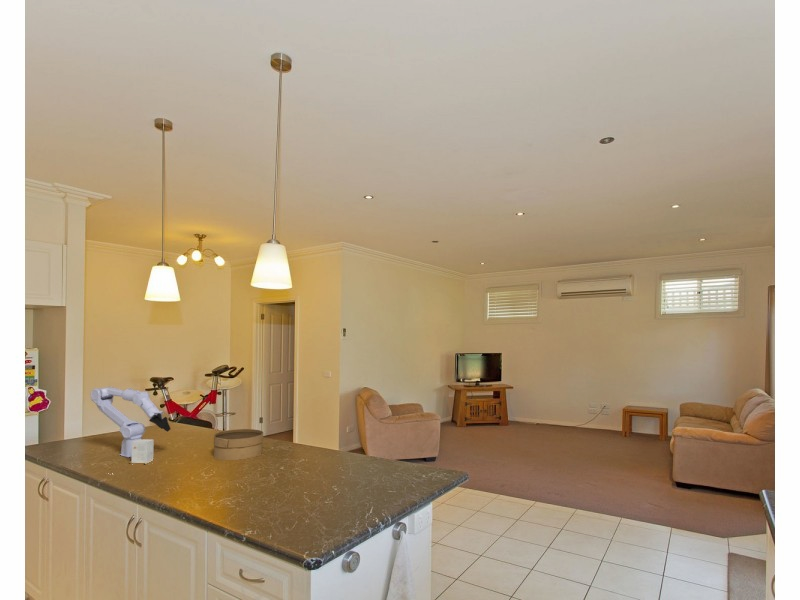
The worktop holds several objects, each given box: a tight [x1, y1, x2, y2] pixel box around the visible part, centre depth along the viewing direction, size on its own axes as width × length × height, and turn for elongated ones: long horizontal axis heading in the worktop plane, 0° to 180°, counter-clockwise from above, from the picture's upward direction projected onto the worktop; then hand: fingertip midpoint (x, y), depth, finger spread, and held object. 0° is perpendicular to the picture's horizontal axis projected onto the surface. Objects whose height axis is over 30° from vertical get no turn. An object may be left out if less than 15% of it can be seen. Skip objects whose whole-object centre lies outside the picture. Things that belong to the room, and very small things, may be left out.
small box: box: [130, 438, 155, 464], centre depth 233 cm, size 8×6×10 cm
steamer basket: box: [213, 428, 264, 461], centre depth 248 cm, size 25×25×11 cm
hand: (166, 428), depth 241 cm, fingers open, 7 cm apart
